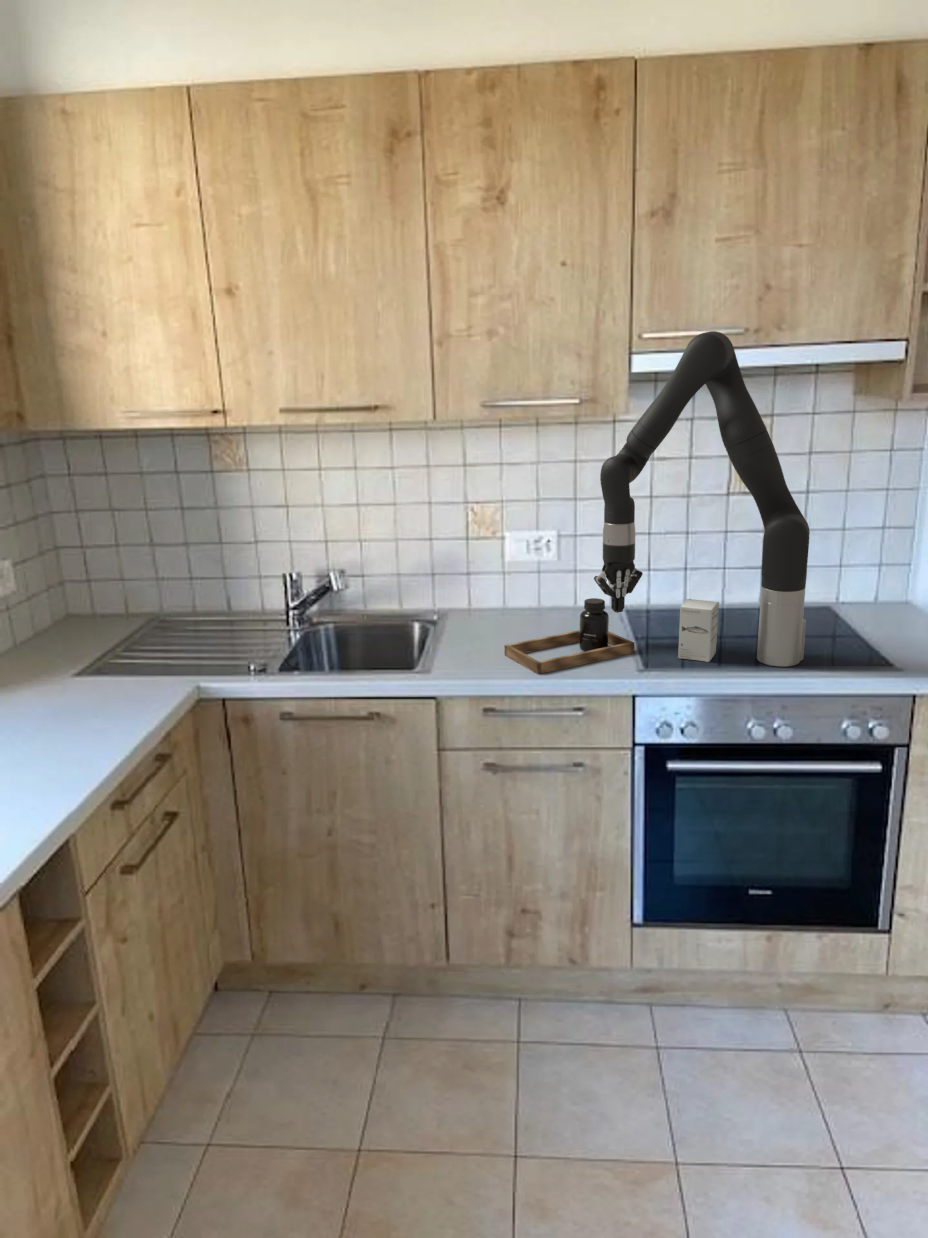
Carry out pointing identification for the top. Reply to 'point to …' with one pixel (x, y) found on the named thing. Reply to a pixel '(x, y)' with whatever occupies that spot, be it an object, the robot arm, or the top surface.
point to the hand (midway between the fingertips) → (617, 611)
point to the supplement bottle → (593, 625)
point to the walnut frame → (518, 650)
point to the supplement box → (698, 630)
